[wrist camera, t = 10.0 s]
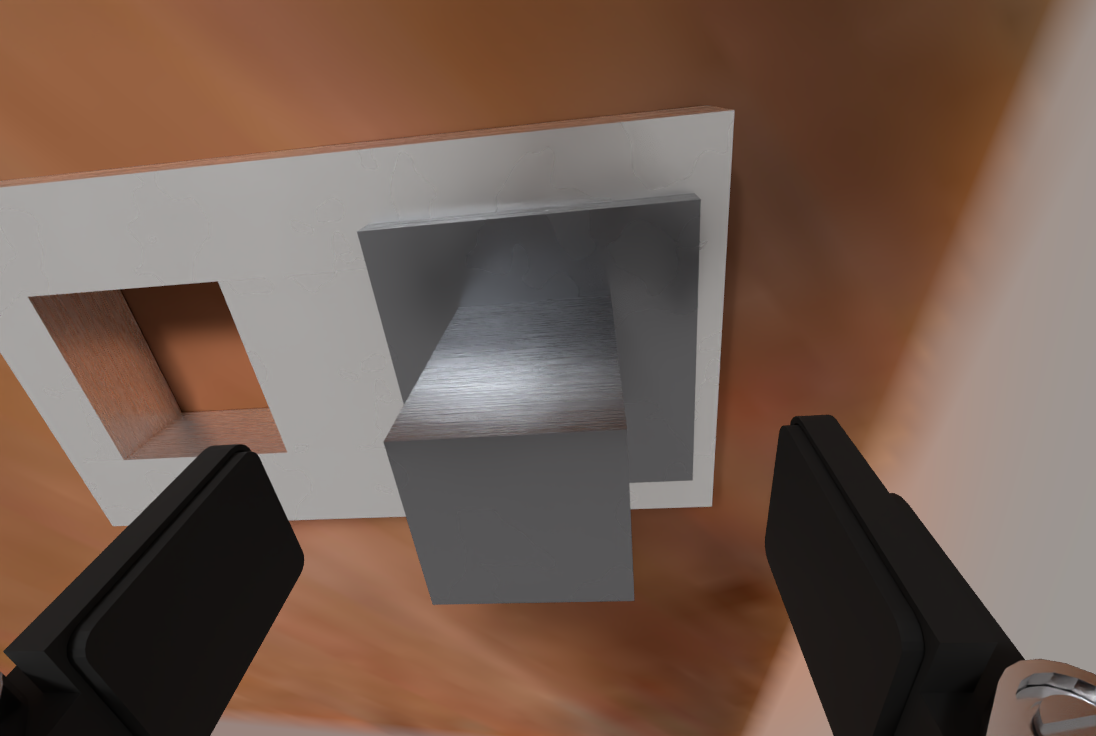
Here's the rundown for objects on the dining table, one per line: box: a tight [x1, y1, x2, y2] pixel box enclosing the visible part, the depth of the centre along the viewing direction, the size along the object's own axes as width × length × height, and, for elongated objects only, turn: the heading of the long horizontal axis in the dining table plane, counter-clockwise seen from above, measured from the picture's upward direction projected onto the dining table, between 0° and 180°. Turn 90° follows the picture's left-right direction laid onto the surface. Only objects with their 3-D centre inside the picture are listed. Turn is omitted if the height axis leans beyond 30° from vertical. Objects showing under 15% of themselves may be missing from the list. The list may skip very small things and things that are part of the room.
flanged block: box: [357, 193, 701, 605], centre depth 14 cm, size 8×8×9 cm
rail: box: [0, 105, 735, 526], centre depth 17 cm, size 12×22×3 cm, turn 96°
